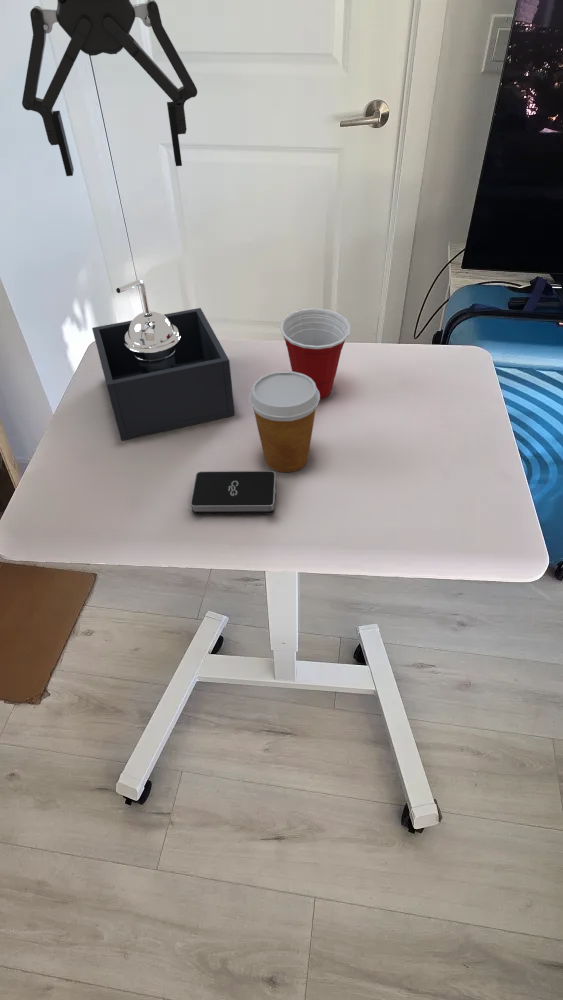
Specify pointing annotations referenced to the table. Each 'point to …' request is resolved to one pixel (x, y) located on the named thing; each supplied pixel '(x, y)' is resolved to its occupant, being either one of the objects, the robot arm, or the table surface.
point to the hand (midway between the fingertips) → (124, 168)
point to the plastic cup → (315, 344)
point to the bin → (167, 379)
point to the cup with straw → (151, 336)
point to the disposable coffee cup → (285, 417)
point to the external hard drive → (234, 492)
